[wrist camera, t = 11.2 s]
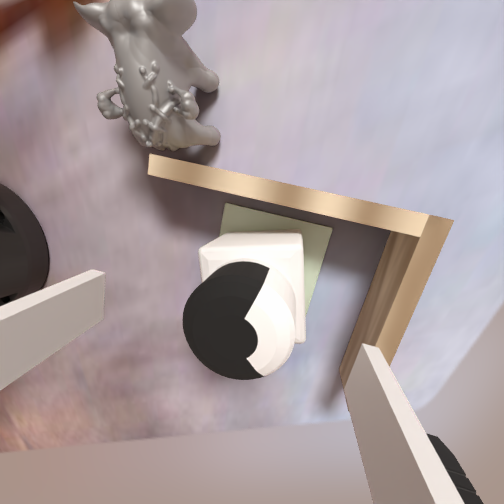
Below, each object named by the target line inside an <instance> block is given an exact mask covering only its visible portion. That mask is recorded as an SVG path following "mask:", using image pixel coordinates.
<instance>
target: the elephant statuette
mask: <svg viewBox="0 0 504 504" xmlns="http://www.w3.org/2000/svg"><path fill="white" fill-rule="evenodd" d="M73 3H74V6H75V8H76V9H77V11H78V12H79V14H80V15H81V16H82V17H83V18H84V19H85V20H86V21H87V22H88V23H89V24H90V25H91V26H93V27H94V28H96V29H97V30H99V31H100V32H102V33H103V34H104V35H105V36H107V37H108V39H109V41H110V43H111V45H112V47H113V48H114V52H115V58H116V64H115V66H114V70H115V72H116V73H117V78H116V82H117V84H118V88H115V89H111V90H106V91H104V92H101V93H98V94H97V100H98V108H99V110H100V112H101V113H102V115H103V116H104V117H105V118H106V119H117V118H119V117H121V116H123V118H124V119H125V120H128V122H129V125H130V126H129V129H130V131H132V133H133V135H134V137H135V138H136V139H137V141H138V142H139V143H140V144H141V145H142V146H144V147H154V148H155V149H158V150H160V151H164V150H165V149H166V147H167V148H168V149H170V150H171V151H176V150H177V149H178V148H187V147H189V146H192V145H209V146H215V145H217V144H218V143H219V141H220V138H221V135H220V132H219V130H218V129H217V128H215V127H214V126H203V125H201V124H199V123H198V122H197V121H196V120H195V119H196V118H197V117H198V115H199V107H198V105H197V103H196V101H195V97H194V95H193V94H192V93H191V92H189V89H190V87H191V86H194V87H197V88H199V89H201V90H203V91H204V92H207V93H210V92H213V91H214V90H216V89H217V87H218V85H219V78H218V76H217V74H216V73H215V72H213V71H212V70H210V69H208V68H206V67H205V66H204V65H203V64H202V62H201V61H200V59H199V58H198V57H197V55H196V54H195V53H194V52H193V51H192V49H191V48H190V47H189V45H188V43H187V42H186V41H185V40H184V39H183V37H182V35H183V34H184V33H185V31H187V30H188V29H189V28H190V27H191V26H192V24H193V23H194V22H195V20H196V16H197V8H196V4H195V2H194V0H110V1H109V2H107V3H91V4H87V5H83V6H82V5H80V4H79V3H77V2H73ZM114 94H120V98H121V102H122V104H123V105H124V106H123V109H122V108H120V107H118V106H117V105H115V104H114V103H113V102H112V101H111V97H112V96H113V95H114Z"/></svg>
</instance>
